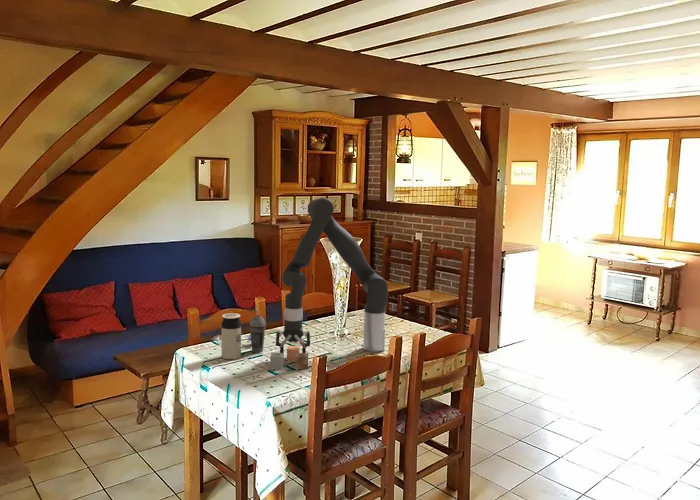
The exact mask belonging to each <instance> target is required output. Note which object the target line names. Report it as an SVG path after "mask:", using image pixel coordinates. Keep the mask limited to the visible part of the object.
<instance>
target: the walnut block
mask: <svg viewBox="0 0 700 500" xmlns="http://www.w3.org/2000/svg"><path fill="white" fill-rule="evenodd" d="M294 363H295V367H294V369H295V370H309V353H308V352H306V353H302V352H300V353H296V357H295V361H294Z"/></svg>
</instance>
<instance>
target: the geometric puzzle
mask: <svg viewBox="0 0 700 500" xmlns="http://www.w3.org/2000/svg"><path fill="white" fill-rule="evenodd" d="M246 341H247V342H249V343H250V342H251V332H249V334H248V337H247V340H246Z"/></svg>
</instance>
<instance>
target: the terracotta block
mask: <svg viewBox="0 0 700 500" xmlns="http://www.w3.org/2000/svg"><path fill="white" fill-rule="evenodd" d="M300 349H301V348H300V346H299V345H287V348H286V362H295V357H296V353H301V352H300Z"/></svg>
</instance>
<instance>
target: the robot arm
mask: <svg viewBox="0 0 700 500" xmlns="http://www.w3.org/2000/svg"><path fill="white" fill-rule="evenodd" d="M334 212H335V205H334V203H333V201H332V200H331V199H329V198H327V197H320V198H315V199H312V200H310V201H309V202H308V205H307V213H308V215H309V217H310V218H311V221H310V224H309V226H308V228H307V231H306V232H305V233H304V235H303V236H302V238H301V239H300V241H299V243H298V245H297V247H296V249H295V252H294V255H293V258H292V259H291V261H290V262H289V263H288V265H287V266H286V268H285V269H284V270H283V273H282V277H281V278H282V283H283V285H284V286H286V287H290V288H291V291H290V292H287V293H286V294H285V298H284V314H283V315H284V316H283V318H284V319H283V321H284V323H283V324H284V326H283V330H281V331H280V330H277V331H276V334H275V346H276V347H279V353H284V352H285V351H284V350H285V349H284V348H285V344H287V343H299V344H300V345H301V347H302V348H301V350H302V351H301V353H307V352H306V351H307V350H306V348H307V347H310V346H311V334H310V333H311V332H310V331H309V330H307V331H303V296H304V294H305V290H306V286H307V277H306V275H305V273H303V272H302V269H303V268H307V267H309V265H310V263H311V259H312V258H313V255H314V252H315V250H316V247H317V244H318V243H319V240H320V238H321V236H322V234H323V233H324V234H325V236H326V237H327V239H328V241H329V242H330V243H331V245H332V246H333V248H334V249H335V251H336V252H337V253H338V255H339V256H340V257H341V260H343V261H344V263H345V264H346V265H347V266H348V267H349V269H351V270H352V272H353V273H354V274H355V276H356V277H357V279H358V281H359V282H360V284H361V286H362V288H363V290H364V291H365V293H366V303H365V304H364V309H363V311H364V312H363V313H364V314H363V340H362V341H363V345H362V349H364V351H367V352H373V353H374V352H375V353H376V352H382V351H383V352H384V351H385V342H386V339H385V338H386V328H385V323H386V321H385V320H386V308H387V305H388V294H389V293H388V292H389V287H388V283H387V281H386V279H385V278H383V277H382V276H380V275H379V274H377V272H376V271H374V269H373V268H372V267H371V266H370V265H369V262H368V261H367V259H366V257H365V254H364V251H363V250H362V248H361V246H360V245H359V243H358V241H356V239H355V238H354V237H353V236H352V235H351V233H350V232H348V231H347V230H346V229H345V228H344V227H343V226H342V225H340V224H339V223H338V222H337V221H336V220H335V218H334V217H333V214H334ZM282 335H283V337H284V339H283V340H282V341H281V342H280V338H281V337H282ZM303 336H304V337H305V338H306V342H305V341H304V339H303ZM284 354H285V353H284Z"/></svg>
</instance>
